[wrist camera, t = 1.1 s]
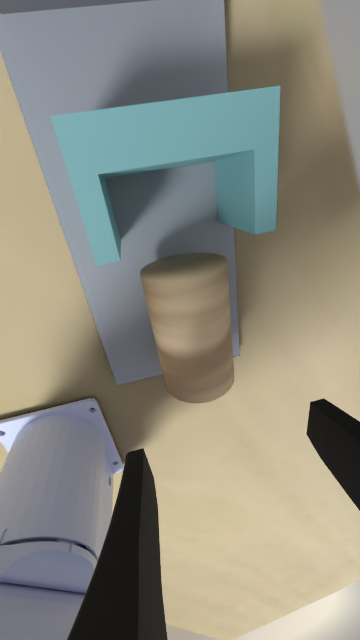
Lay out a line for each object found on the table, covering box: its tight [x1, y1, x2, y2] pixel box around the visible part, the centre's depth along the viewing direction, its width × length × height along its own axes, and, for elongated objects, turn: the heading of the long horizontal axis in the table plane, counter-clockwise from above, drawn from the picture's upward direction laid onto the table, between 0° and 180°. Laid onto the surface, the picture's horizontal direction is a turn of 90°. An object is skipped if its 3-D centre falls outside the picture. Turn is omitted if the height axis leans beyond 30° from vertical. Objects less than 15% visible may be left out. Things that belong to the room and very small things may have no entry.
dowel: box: [140, 253, 234, 403], centre depth 16 cm, size 8×5×5 cm, turn 9°
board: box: [0, 0, 240, 386], centre depth 16 cm, size 20×10×1 cm, turn 9°
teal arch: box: [51, 86, 280, 266], centre depth 12 cm, size 5×8×5 cm, turn 99°
